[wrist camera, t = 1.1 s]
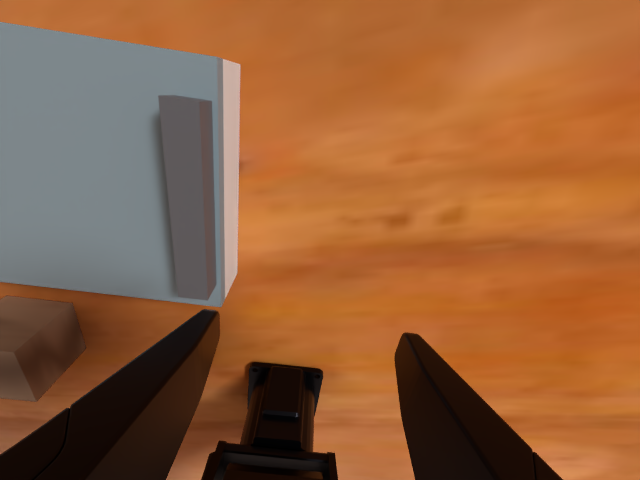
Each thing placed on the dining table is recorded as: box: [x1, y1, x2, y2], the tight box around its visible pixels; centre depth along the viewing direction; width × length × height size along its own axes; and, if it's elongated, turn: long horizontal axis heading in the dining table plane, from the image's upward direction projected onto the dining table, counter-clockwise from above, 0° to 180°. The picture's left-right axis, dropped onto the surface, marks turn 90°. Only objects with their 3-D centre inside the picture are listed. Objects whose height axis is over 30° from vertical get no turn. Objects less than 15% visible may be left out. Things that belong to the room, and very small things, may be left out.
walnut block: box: [0, 296, 86, 402], centre depth 22 cm, size 5×5×5 cm
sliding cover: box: [0, 22, 225, 307], centre depth 14 cm, size 13×15×2 cm
